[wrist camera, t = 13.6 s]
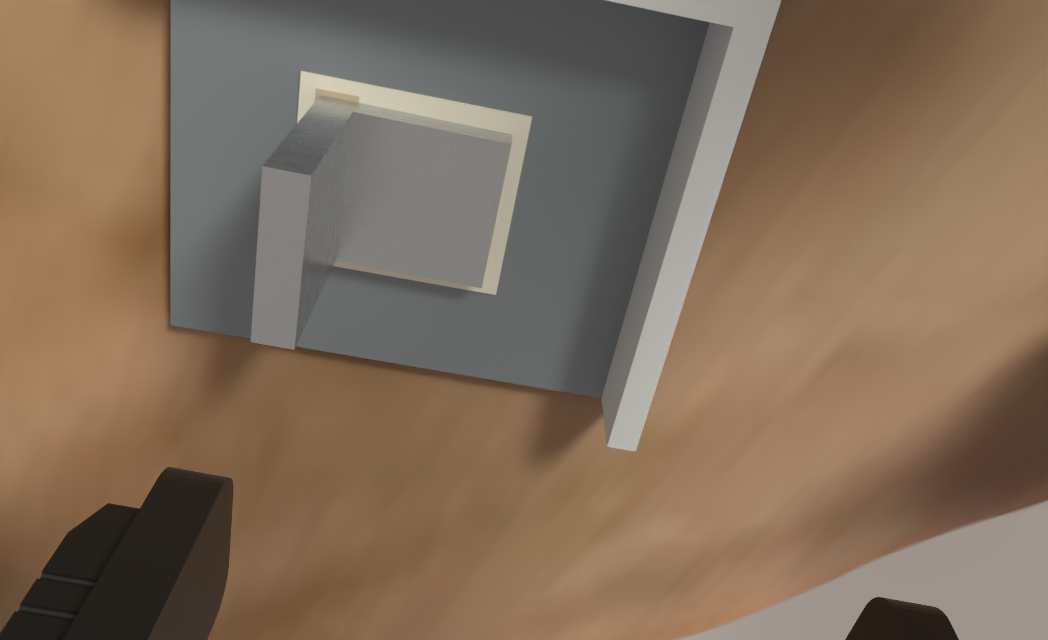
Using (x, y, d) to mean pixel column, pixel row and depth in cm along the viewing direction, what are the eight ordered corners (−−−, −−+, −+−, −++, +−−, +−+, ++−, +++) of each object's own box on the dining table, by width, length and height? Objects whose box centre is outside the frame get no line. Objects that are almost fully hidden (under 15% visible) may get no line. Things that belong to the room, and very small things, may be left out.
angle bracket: (306, 241, 35) (250, 342, 28) (320, 95, 32) (262, 166, 25) (483, 275, 36) (471, 381, 29) (512, 134, 33) (507, 214, 26)
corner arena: (179, -147, 29) (126, -146, 25) (752, -24, 31) (782, -5, 27) (177, 316, 38) (137, 368, 34) (625, 393, 39) (635, 451, 36)
